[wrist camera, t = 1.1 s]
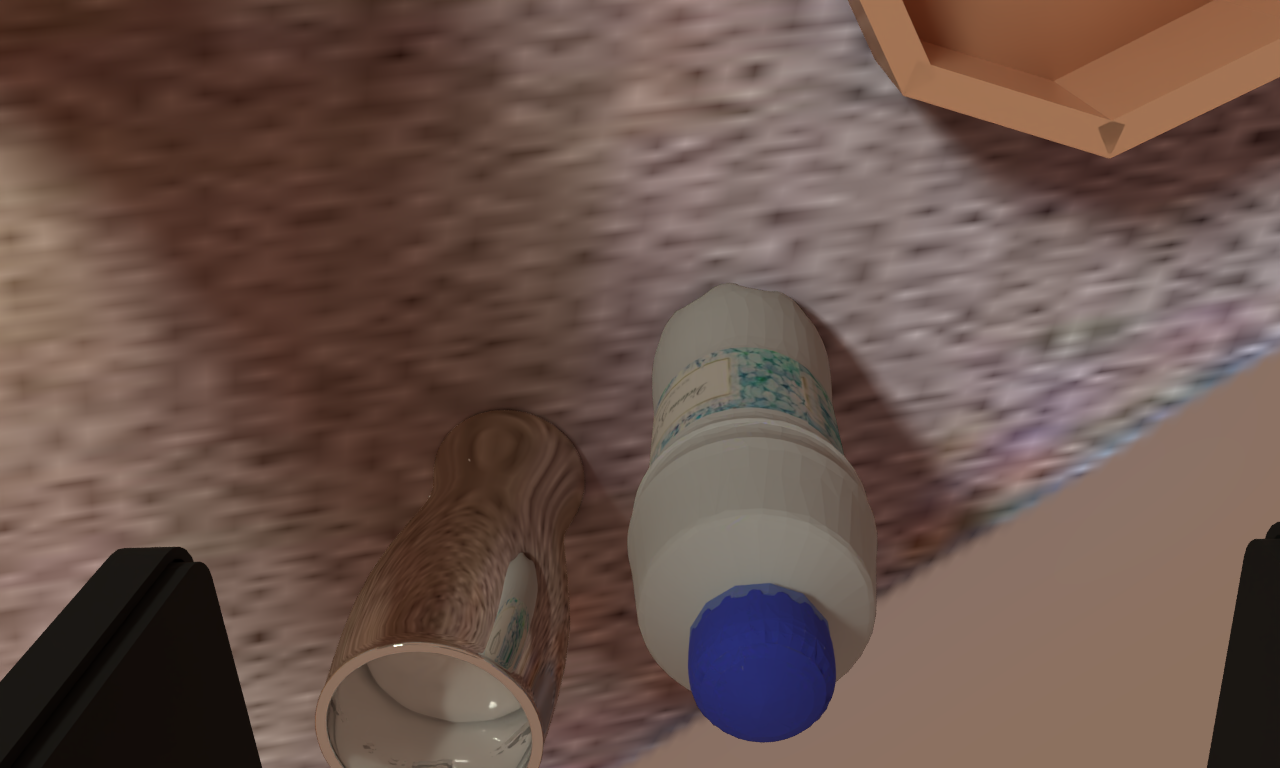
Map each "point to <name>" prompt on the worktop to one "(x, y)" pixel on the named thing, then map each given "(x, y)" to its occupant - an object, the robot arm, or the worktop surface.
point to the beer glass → (463, 611)
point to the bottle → (750, 518)
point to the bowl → (1076, 61)
